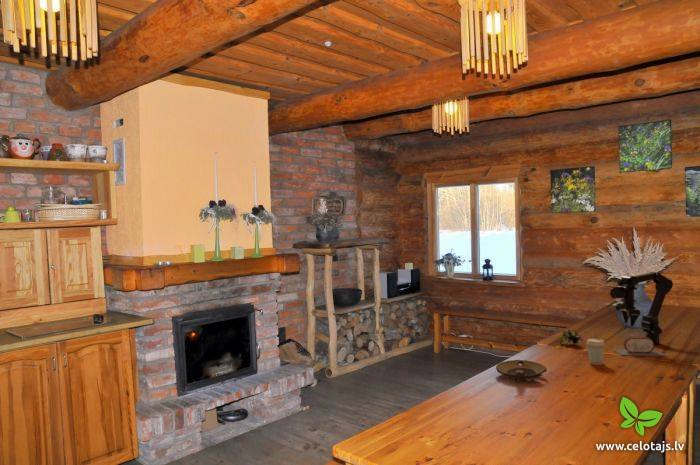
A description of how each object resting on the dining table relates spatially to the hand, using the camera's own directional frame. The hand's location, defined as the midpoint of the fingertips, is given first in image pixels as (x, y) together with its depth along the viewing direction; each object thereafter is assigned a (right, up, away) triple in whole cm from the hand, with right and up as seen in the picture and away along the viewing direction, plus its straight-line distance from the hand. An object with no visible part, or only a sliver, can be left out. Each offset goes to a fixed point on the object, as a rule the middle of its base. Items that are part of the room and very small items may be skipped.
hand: (628, 324), depth 301 cm
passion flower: (-33, -13, +3) cm, 35 cm away
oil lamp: (-83, -15, -59) cm, 103 cm away
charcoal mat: (-4, -12, -18) cm, 23 cm away
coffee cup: (-37, -14, -37) cm, 54 cm away
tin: (-4, -12, -19) cm, 23 cm away
